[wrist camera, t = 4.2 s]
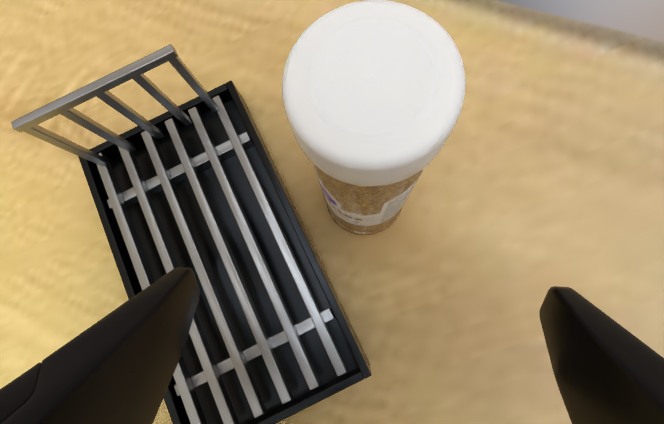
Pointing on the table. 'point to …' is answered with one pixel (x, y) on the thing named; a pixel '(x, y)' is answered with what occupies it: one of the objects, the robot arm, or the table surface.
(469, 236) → the table surface
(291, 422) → the table surface
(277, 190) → the dish rack
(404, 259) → the table surface
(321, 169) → the sprinkles bottle
